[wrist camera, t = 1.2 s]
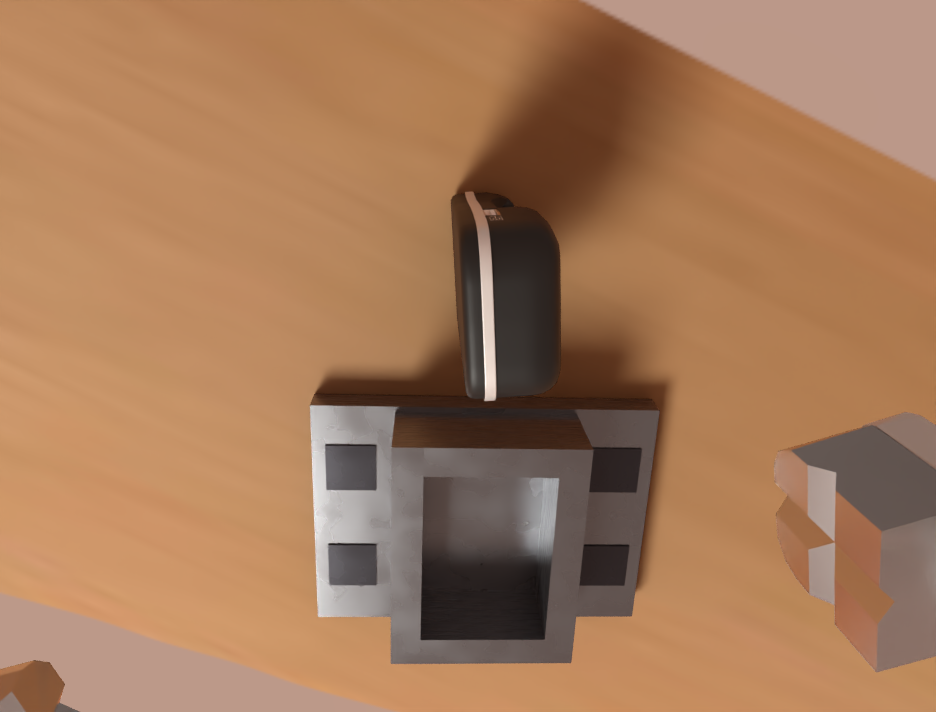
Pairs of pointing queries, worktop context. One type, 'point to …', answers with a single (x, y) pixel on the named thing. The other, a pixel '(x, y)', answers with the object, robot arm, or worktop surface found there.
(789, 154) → the worktop surface
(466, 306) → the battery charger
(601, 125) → the worktop surface
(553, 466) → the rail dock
